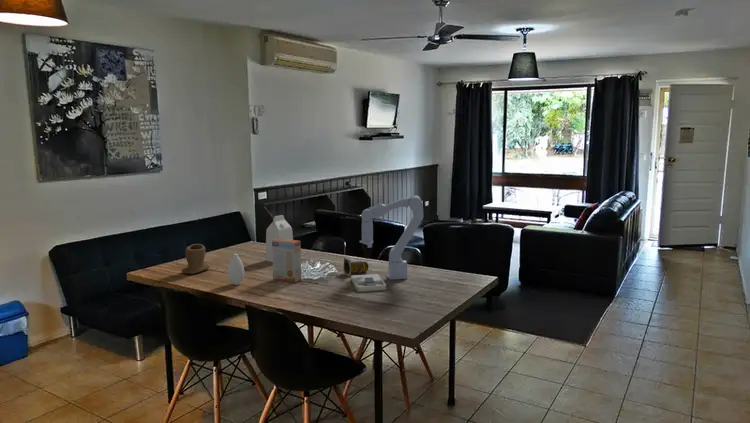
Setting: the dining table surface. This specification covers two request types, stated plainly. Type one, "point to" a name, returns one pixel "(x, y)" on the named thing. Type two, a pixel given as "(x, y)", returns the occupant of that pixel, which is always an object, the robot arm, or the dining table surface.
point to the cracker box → (286, 260)
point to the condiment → (354, 267)
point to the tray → (370, 287)
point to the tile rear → (369, 280)
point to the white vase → (235, 270)
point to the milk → (277, 234)
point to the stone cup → (195, 259)
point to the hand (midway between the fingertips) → (367, 258)
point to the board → (361, 279)
